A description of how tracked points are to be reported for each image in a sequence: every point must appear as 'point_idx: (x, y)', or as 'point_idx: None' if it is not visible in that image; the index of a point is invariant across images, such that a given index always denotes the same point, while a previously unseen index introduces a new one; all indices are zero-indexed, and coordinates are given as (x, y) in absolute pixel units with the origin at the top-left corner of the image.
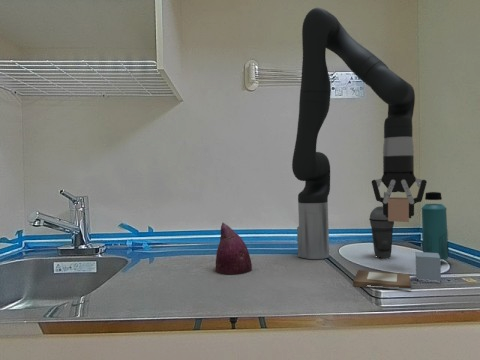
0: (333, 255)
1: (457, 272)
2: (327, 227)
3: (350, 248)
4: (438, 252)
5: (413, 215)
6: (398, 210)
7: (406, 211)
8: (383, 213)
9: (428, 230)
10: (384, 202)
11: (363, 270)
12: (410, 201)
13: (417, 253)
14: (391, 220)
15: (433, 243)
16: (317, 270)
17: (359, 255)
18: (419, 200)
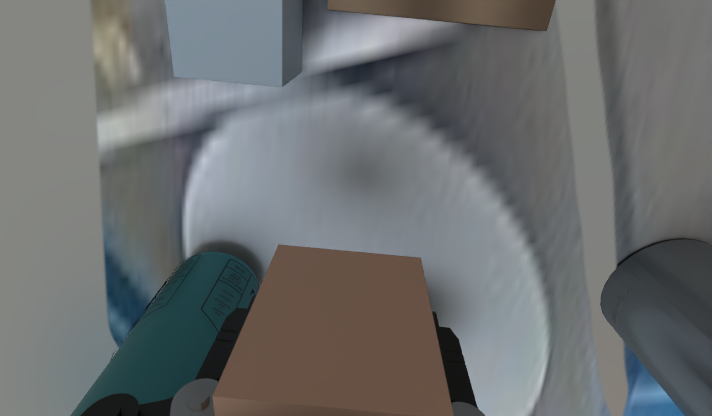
0: (578, 312)
1: (156, 152)
2: (709, 380)
3: (495, 406)
4: (198, 265)
5: (233, 311)
6: (342, 308)
7: (275, 296)
8: (455, 338)
9: (197, 341)
10: (472, 413)
11: (522, 26)
12: (209, 404)
13: (273, 46)
14: (397, 260)
15: (201, 291)
16: (708, 68)
17: (479, 324)
18: (111, 404)
